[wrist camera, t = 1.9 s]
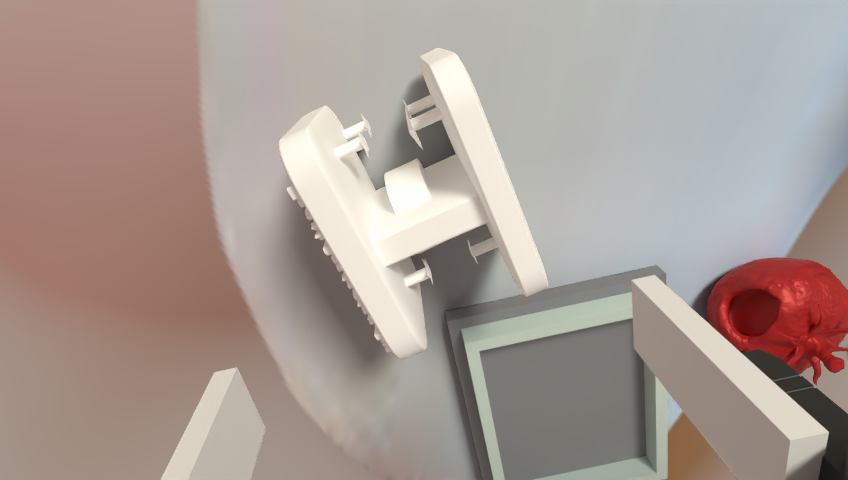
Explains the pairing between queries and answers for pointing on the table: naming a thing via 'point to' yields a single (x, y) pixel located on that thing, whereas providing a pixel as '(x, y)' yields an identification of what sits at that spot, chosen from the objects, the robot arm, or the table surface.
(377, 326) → the cable organizer
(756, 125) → the table surface
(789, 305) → the red tomato
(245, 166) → the table surface
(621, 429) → the grey green tray
